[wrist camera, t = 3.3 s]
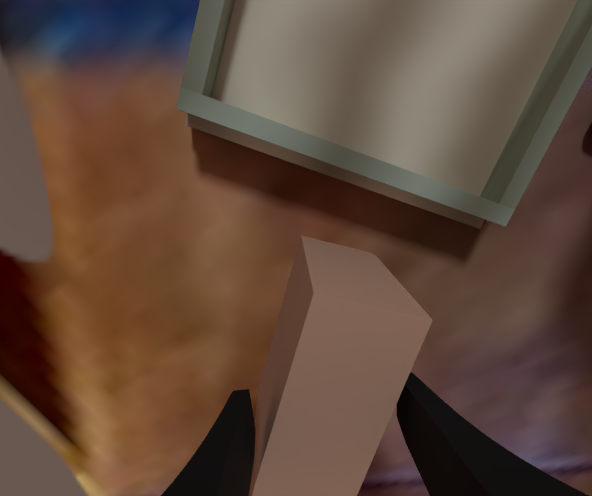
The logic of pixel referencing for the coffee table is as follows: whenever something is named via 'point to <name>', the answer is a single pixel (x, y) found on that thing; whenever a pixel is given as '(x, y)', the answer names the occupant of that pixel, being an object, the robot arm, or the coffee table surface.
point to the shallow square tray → (394, 91)
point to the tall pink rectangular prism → (332, 372)
